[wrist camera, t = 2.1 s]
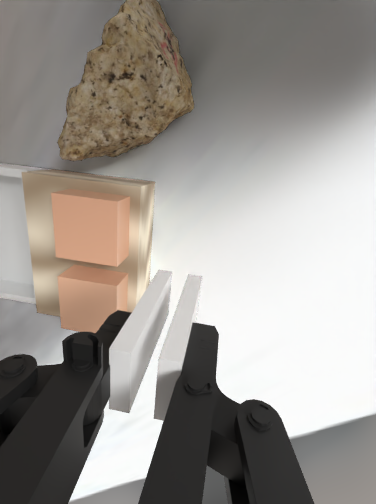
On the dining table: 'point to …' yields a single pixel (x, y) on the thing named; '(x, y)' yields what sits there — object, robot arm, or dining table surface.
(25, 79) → the dining table surface
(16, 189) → the box
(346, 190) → the dining table surface
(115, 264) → the tile
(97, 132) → the rock
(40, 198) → the board
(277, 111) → the dining table surface
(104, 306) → the tile
